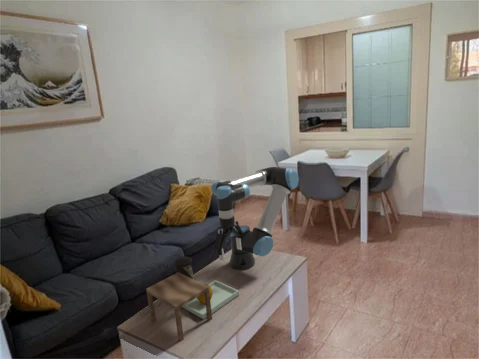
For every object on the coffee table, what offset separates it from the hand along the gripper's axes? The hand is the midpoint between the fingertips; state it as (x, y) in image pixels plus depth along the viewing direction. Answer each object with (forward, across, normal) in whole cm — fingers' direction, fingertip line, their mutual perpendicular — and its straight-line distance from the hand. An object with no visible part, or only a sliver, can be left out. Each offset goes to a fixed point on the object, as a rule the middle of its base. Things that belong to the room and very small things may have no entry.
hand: (231, 254), depth 174 cm
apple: (+17, +21, -1) cm, 27 cm away
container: (+18, +20, -15) cm, 31 cm away
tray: (+18, +18, -1) cm, 25 cm away
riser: (+17, +36, -2) cm, 39 cm away
